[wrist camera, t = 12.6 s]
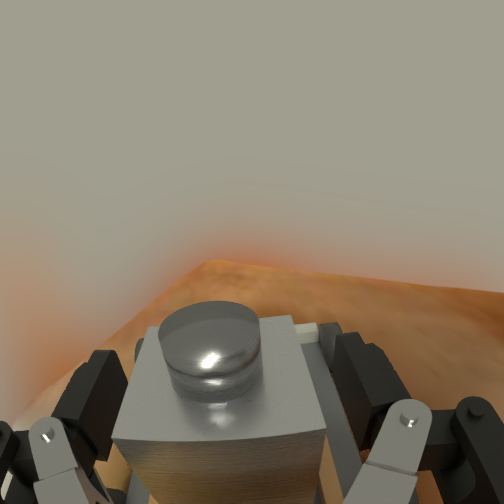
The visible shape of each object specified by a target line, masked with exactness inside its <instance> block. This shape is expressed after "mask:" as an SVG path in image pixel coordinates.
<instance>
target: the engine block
mask: <svg viewBox="0 0 504 504" xmlns="http://www.w3.org/2000/svg"><path fill="white" fill-rule="evenodd" d="M326 429H327V428H326V424H325V421H324V418H323V415H322V411H321V408H320V405H319V402H318V399H317V395H316V392H315V389H314V386H313V383H312V379H311V376H310V373H309V370H308V367H307V364H306V361H305V357H304V354H303V351H302V348H301V345H300V342H299V339H298V336H297V333H296V330H295V326H294V323H293V320H292V317H291V315H284V316H276V317H266V318H258V317H257V315H256V314H255V312H254V311H252V310H251V309H250V308H248V307H246V306H244V305H241V304H238V303H234V302H228V301H209V302H202V303H197V304H193V305H190V306H187V307H184V308H182V309H180V310H177V311H176V312H174V313H172V314H171V315H170V316H168V317H167V318H166V319H165V320H164V321H163V322H162V324H161V325H160V326H151V327H149V328H148V330H147V333H146V336H145V338H144V341H143V344H142V346H141V349H140V352H139V355H138V358H137V360H136V363H135V366H134V369H133V372H132V375H131V378H130V380H129V383H128V386H127V389H126V392H125V395H124V398H123V401H122V404H121V408H120V411H119V414H118V417H117V420H116V423H115V427H114V430H113V433H112V436H111V438H112V440H113V442H114V443H115V445H116V446H117V448H118V449H119V451H120V452H121V454H122V455H123V457H124V458H125V460H126V461H127V463H128V464H129V466H130V467H131V468H132V470H133V471H134V473H135V474H136V475H137V477H138V478H139V479H140V481H141V482H142V483H143V485H144V486H145V487H146V489H147V490H148V491H149V493H150V494H151V495H152V496H153V498H154V499H155V500H156V501H157V502H158V504H313V502H314V497H315V492H316V487H317V482H318V477H319V471H320V466H321V460H322V454H323V448H324V442H325V435H326Z"/></svg>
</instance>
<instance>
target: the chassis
mask: <svg viewBox="0 0 504 504" xmlns="http://www.w3.org/2000/svg"><path fill="white" fill-rule="evenodd" d="M294 326H295V330H296V333H297V336H298V339H299V342H300V345H301V348H302V351H303V354H304V357H305V361H306V364H307V367H308V370H309V373H310V376H311V379H312V383H313V386H314V389H315V392H316V395H317V399H318V402H319V405H320V408H321V411H322V415H323V418H324V421H325V424H326V428H327V429H326V435H325V442H324V448H323V454H322V460H321V466H320V471H319V477H318V482H317V487H316V492H315V497H314V502H313V504H342V503H343V501H344V499H345V498H346V496H347V494H348V492H349V490H350V489H351V487H352V485H353V483H354V481H355V479H356V477H357V476H358V474H359V472H360V470H361V468H362V466H363V464H362V461H361V458H360V455H359V453H358V450H357V447H356V444H355V441H354V438H353V435H352V432H351V430H350V427H349V424H348V421H347V418H346V415H345V413H344V410H343V407H342V404H341V402H340V399H339V396H338V393H337V390H336V388H335V385H334V382H333V380H332V377H331V374H330V372H332V371H333V361H334V350H335V339H336V335H338V334H342V330H341V328H340V326H339V324H338V323H337V322H334V323H327V324H320V325H319V326H318V328H317V325H316V323H315V322H314V323H306V324H298V325H294ZM143 341H144V338H141V339H139V340H138V342H137V344H136V348H135V363H136V360H137V358H138V355H139V352H140V349H141V346H142V344H143ZM105 488H106V487H105ZM106 490H107V492H108V494H109V496H110V497H111V499H112V501H113V503H114V504H158V502H157V501H156V500H155V499H154V498H153V496H152V495H151V494H150V493H149V491H148V490H147V489H146V487H145V486H144V485H143V483H142V482H141V481H140V479H139V478H138V477H137V475H136V474H135V473H134V471H133V470H132V475H131V479H130V484H129V489H128V493H127V496H126V494H125V493H124V492H123V491H121V490H118V489H111V488H106ZM408 504H419V503H418V496H417V492H416V489H415V487H414V490H413V493H412V495H411V498H410V501H409V503H408Z"/></svg>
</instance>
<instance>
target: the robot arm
mask: <svg viewBox="0 0 504 504" xmlns="http://www.w3.org/2000/svg"><path fill="white" fill-rule="evenodd" d="M333 376H334V381H335V384H336V387H337V390H338V393H339V395H340V398H341V401H342V403H343V406H344V409H345V412H346V414H347V417H348V420H349V423H350V426H351V428H352V431H353V434H354V437H355V440H356V443H357V445H358V448H359V451H362V450H366V449H370V451H371V452H370V454H369V456H368V458H367V460H366V461H365V462H364V464H363V466H362V468H361V470H360V472H359V474H358V476H357V477H356V479H355V481H354V483H353V485H352V487H351V489H350V490H349V492H348V494H347V496H346V498H345V499H344V501H343V503H342V504H408V503H409V501H410V498H411V495H412V493H413V490H414V487H415V485H416V482H417V478H418V474H416V473H417V471H426V470H431V471H432V473H433V476H434V478H435V481H436V484H437V486H438V489H439V491H440V494H441V497H442V500H443V502H444V504H504V424H503V422H502V421H501V419H500V418H499V416H498V414H497V413H496V411H495V410H494V408H493V407H492V405H491V404H490V403H489V402H488V401H486V400H485V399H483V398H480V397H475V396H472V397H467V398H464V399H463V400H461V401H460V402H459V404H458V405H457V407H456V409H452V410H430V409H429V408H428V406H427V405H425V404H424V403H422V402H420V401H418V400H414V399H412V398H411V397H410V395H409V393H408V391H407V390H406V388H405V386H404V385H403V383H402V381H401V380H400V378H399V376H398V374H397V373H396V371H395V370H394V369H393V366H392V365H391V363H390V362H389V360H388V358H387V356H386V355H385V353H384V351H383V350H382V349H380V348H379V347H377V346H376V345H375V344H373V343H369V344H365V343H364V342H363V340H362V338H361V336H360V335H359V333H358V332H351V333H344V334H338V335H336V339H335V350H334V361H333ZM127 386H128V381H127V378H126V376H125V373H124V371H123V368H122V366H121V363H120V361H119V358H118V355H117V353H116V352H115V351H114V350H95V351H94V352H93V354H92V355H91V357H90V359H89V361H88V363H86V362H84V363H83V364H82V365H81V366H80V367H79V368H78V369H77V370H75V372H74V374H73V376H72V377H71V379H70V382H69V383H68V385H67V387H66V390H64V392H63V394H62V396H61V398H60V400H59V402H58V404H57V405H56V407H55V409H54V411H53V413H52V415H51V417H44V418H41V419H39V420H38V421H36V422H35V423H34V424H33V425H32V426H31V428H30V430H26V431H13V430H12V429H11V427H10V426H9V425H8V424H7V423H6V422H4V421H0V504H114V503H113V501H112V499H111V497H110V496H109V494H108V492H107V490H106V488H105V486H104V484H103V482H102V480H101V478H100V476H99V474H98V472H97V470H96V469H95V467H94V464H95V460H99V461H106V462H107V460H108V457H109V454H110V450H111V447H112V444H113V440H112V438H111V436H112V433H113V430H114V427H115V423H116V420H117V417H118V414H119V411H120V408H121V404H122V401H123V398H124V395H125V392H126V389H127ZM7 471H9V472H10V473H11V474H12V475H13V477H12V480H11V483H10V485H9V488H8V491H7V494H6V497H5V500H3V499H2V497H1V487H2V484H3V481H4V479H5V476H6V474H7Z"/></svg>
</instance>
